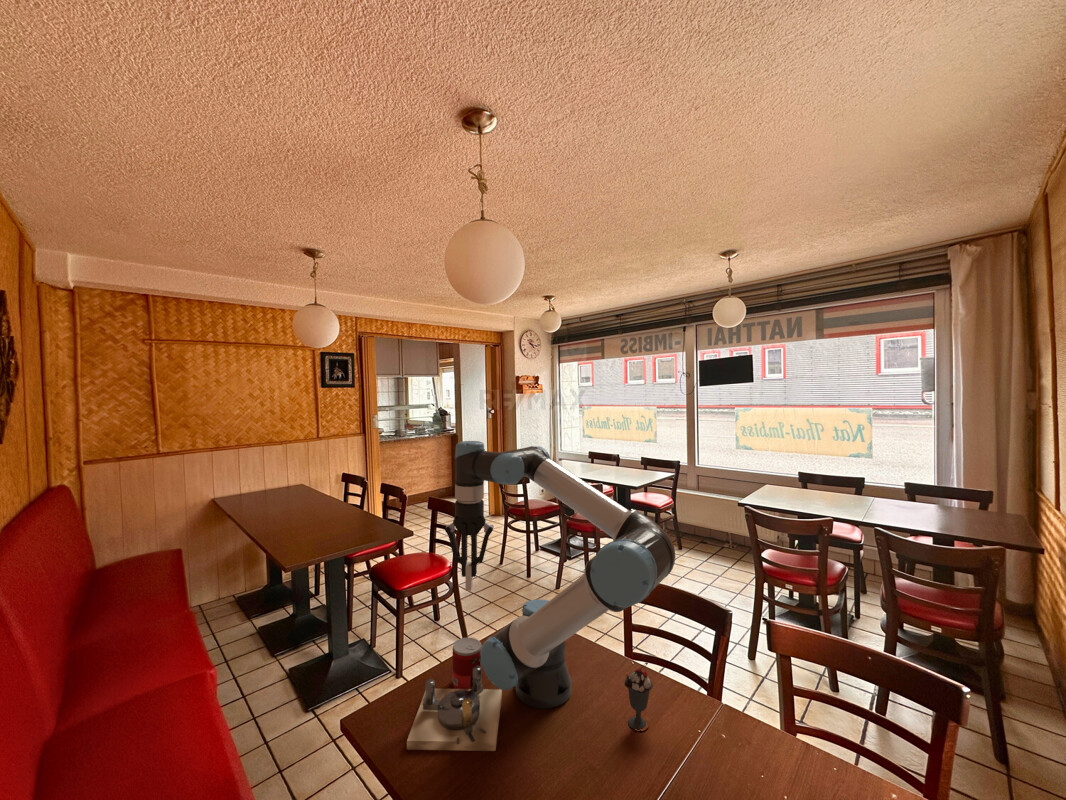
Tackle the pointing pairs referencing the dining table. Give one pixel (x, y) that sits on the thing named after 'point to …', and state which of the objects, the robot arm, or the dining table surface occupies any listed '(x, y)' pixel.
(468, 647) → the canned food
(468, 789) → the dining table surface
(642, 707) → the sundae
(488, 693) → the stand
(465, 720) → the cam capstan
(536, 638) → the robot arm
